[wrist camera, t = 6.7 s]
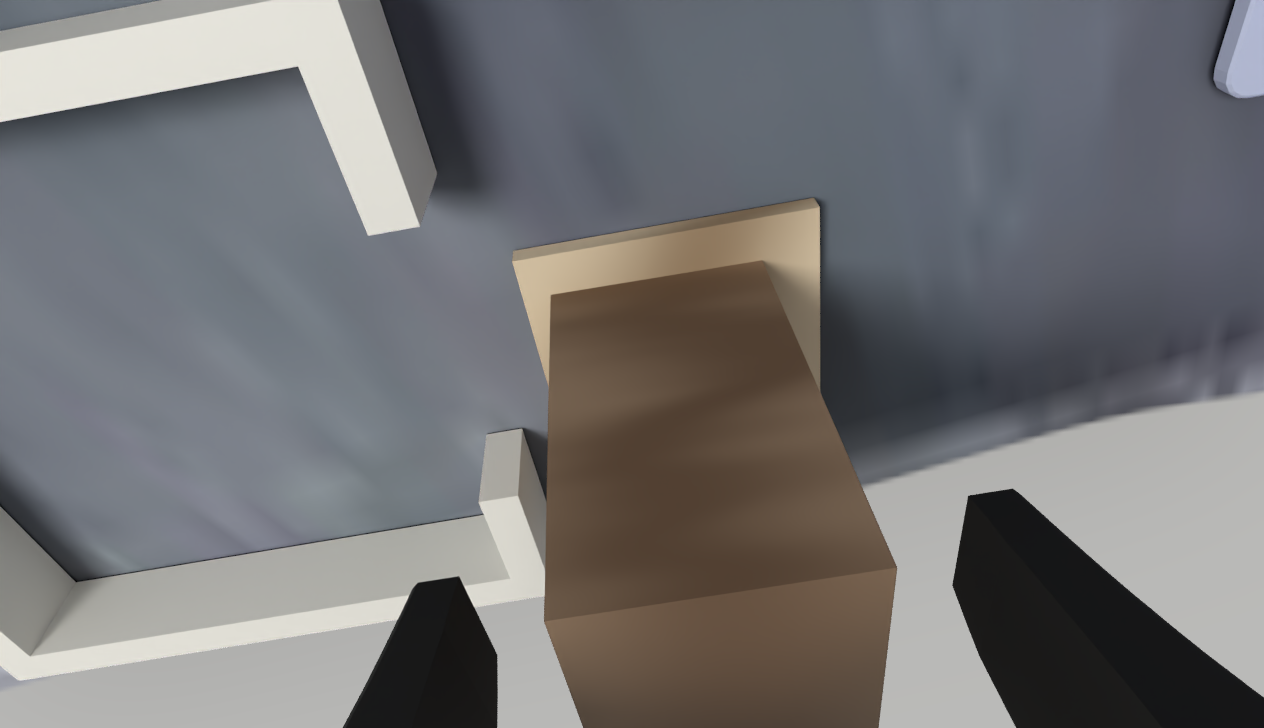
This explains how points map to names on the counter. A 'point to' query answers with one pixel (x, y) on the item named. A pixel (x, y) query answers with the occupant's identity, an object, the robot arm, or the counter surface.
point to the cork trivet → (687, 263)
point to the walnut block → (705, 516)
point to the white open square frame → (386, 201)
